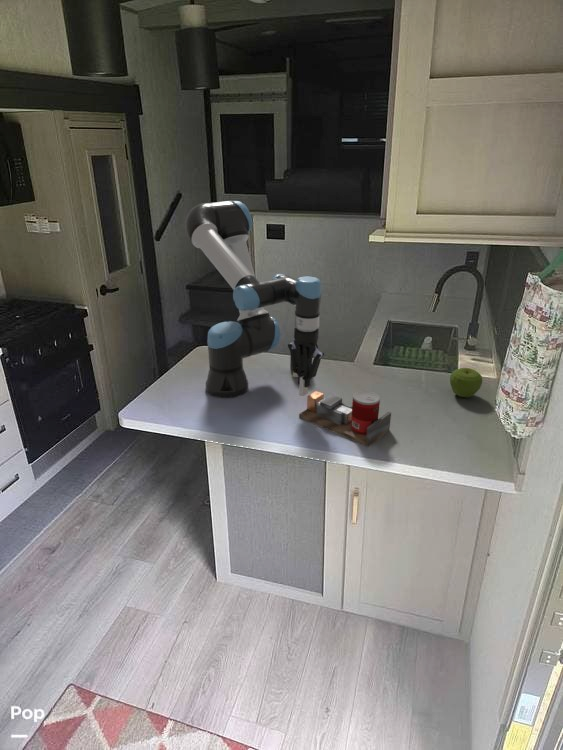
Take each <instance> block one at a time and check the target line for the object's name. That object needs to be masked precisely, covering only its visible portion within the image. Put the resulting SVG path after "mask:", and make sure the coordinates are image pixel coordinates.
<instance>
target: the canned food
mask: <svg viewBox="0 0 563 750" xmlns="http://www.w3.org/2000/svg"><path fill="white" fill-rule="evenodd" d="M380 402H381V398H380V396H379V394H377V393H376V392H373V391H369V390H368V391H367V390H361V391H356V392H355V393H353V396H352V404H351V406H352V417H351V427H352V430H353V431H355V432H356V433H359V434H364V435H367V427H369V426H370V425H371V424H373V423H374V422H375V421H377V420H378V419H379V412H380V404H381V403H380Z"/></svg>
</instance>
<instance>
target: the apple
mask: <svg viewBox="0 0 563 750" xmlns="http://www.w3.org/2000/svg"><path fill="white" fill-rule="evenodd" d="M449 379H450V380H449V383H450V384H449V385H450V386H451V390H452V392H453V393H454V394H455V395H457V396H458V397H461V398H463V397H468V398H471V397H473V396H474V395H475V394H476V393H477V392H478V391H479V390H480V389H481V386H482V384H483V376H482V375H481V374H480V373H479V372H478V371H477V370H475V369H473V368H470V367H469V368H468V367H461V368H458V369H454V370H453V371H452V372H451V374H450V375H449Z"/></svg>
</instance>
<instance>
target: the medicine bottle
mask: <svg viewBox="0 0 563 750" xmlns="http://www.w3.org/2000/svg"><path fill="white" fill-rule="evenodd" d="M289 357H290V361H289V362H290V363H289V364H290V368H289V369H290V372H291V375H292V378H298V375H297V373H294V372H293V367H292V360H291V356H289ZM296 368H297V367H296Z"/></svg>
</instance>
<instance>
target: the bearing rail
mask: <svg viewBox="0 0 563 750" xmlns="http://www.w3.org/2000/svg"><path fill="white" fill-rule="evenodd" d="M338 404H340V405H343V406H345V407H348V408H351V409H352V405H350V404H347V403H345V402H343V398H342V397H339V396H336V395H334V394H330V395H329V396H327V397H325V399H324V400H322V401H321V402H320V404H318V405H317V412H313V411H310V410H308V409H307V408H306V409H304V410H303V411H301V412H300V413H298V415H299V416H298V417H299V419H303V420H305V421H308V422H310V423H312V424H314V425H317V426H320V427H321V428H324V429H325V430H328V431H331V432H333V433H335V434H337V435H340V436H343V437H344V438H348V439H350V440H352V441H354V442H357V443H359V444H362V445H363V446H366V447H370V446H371V445H373V444H374V443H375V442H377V441H378V440H379V439H380V438H381V437H383V436H384V435H385V434H387V433H388V432H389V431H390V425H391V420H392V419H391V418H392V412H391V411H387V412H386V413H385V414H383V415H382V416H380V417H378V420H377V421H375V422H374V423H373V424H371V425H370V426H369V427H367V435H364V434H359V433H356V432H355V431H353V430H352V427H351V422H349V423H348V424H345V423H342V419H343V413H342V412H339V411H337V410H334V409H332V408H333V407H335V406H336V405H338Z"/></svg>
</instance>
